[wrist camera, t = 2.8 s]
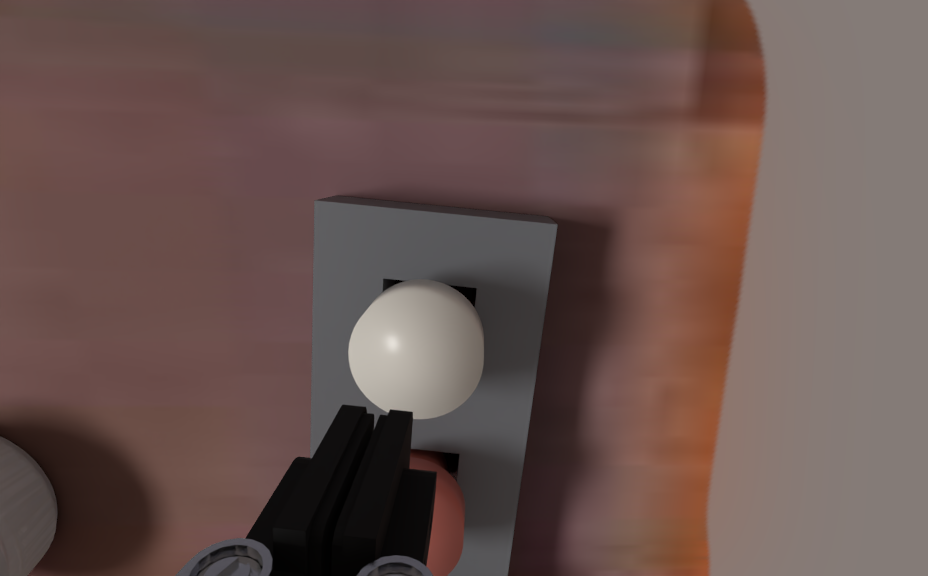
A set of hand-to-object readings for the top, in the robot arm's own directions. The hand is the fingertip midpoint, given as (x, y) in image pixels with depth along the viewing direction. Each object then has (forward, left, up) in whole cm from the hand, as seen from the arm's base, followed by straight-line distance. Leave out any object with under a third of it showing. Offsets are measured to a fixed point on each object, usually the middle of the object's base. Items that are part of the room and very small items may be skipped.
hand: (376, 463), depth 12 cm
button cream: (0, 0, -12) cm, 12 cm away
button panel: (-8, 0, -13) cm, 15 cm away
